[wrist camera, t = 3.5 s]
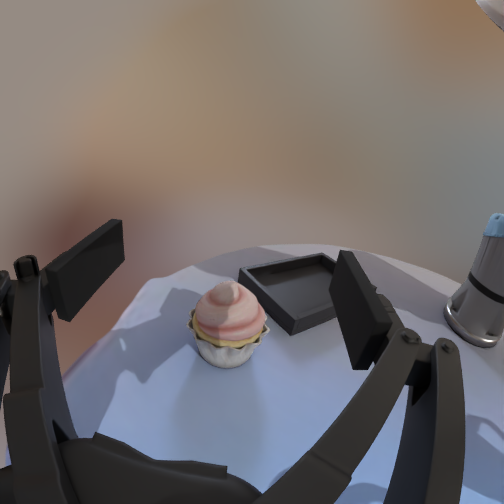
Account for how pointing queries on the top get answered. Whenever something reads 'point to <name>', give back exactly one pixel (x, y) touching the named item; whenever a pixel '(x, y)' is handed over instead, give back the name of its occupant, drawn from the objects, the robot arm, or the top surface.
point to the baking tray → (293, 290)
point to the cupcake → (228, 325)
